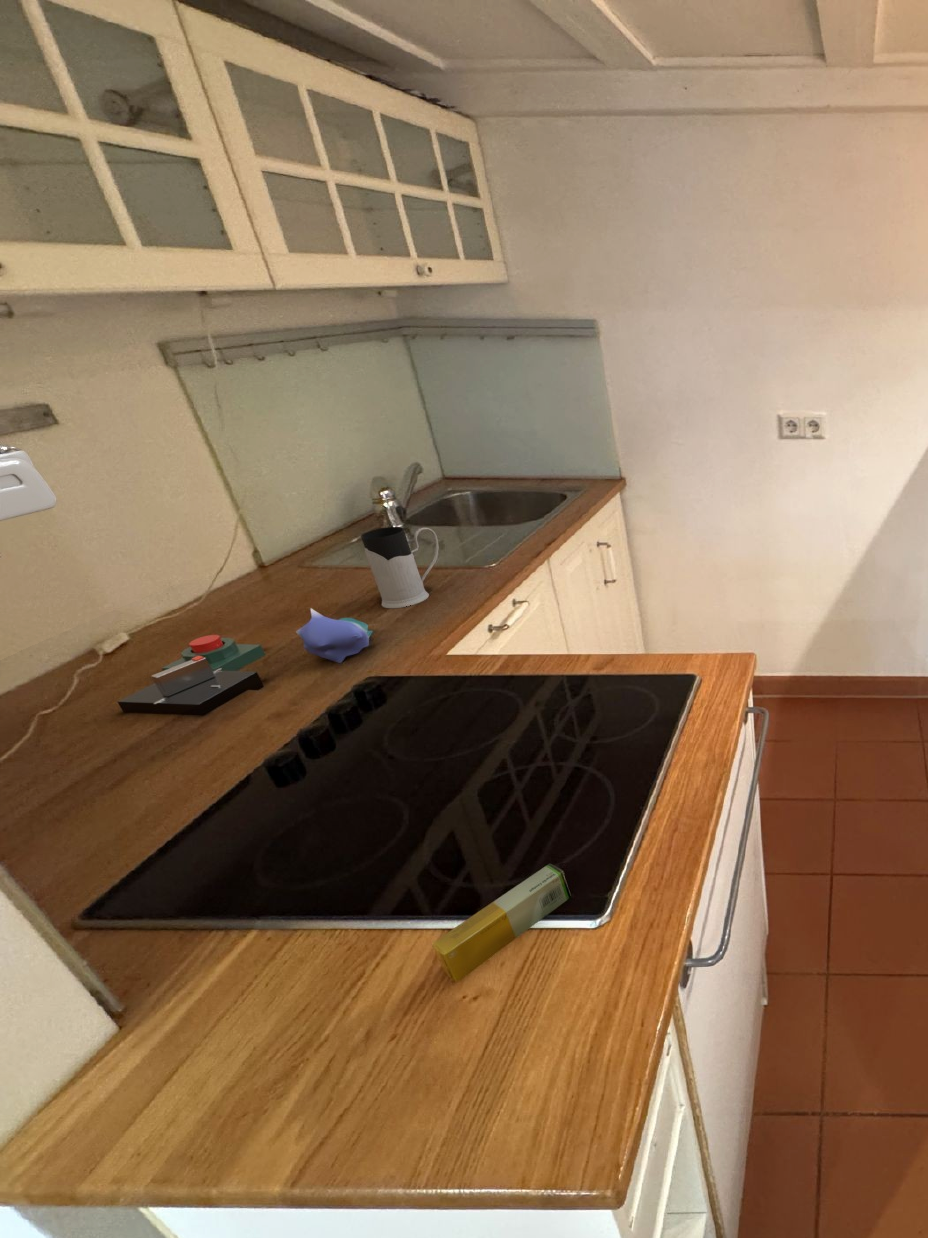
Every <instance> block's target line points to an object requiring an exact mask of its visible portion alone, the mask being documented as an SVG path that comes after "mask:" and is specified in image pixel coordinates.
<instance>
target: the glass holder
mask: <svg viewBox="0 0 928 1238" xmlns="http://www.w3.org/2000/svg"><path fill="white" fill-rule="evenodd" d="M424 530H427V531H430V532H431V533H432V535H433V538H434V542H435V550H434V556H433V559H432V560H431V563H430V564H429V566H428V567H427V569H426V570H425V572H424V573H423V575H422V576H421V574H420V571H419V568H418V565H417V562H416V559H415V556H414V554H413V553H415V552H417V551H418V550H419V543H418V535H419V533H421V531H424ZM360 538H361V541H362V544H363V546H364V547H363V548H364V552H365V555H366V558H367V561H368V564H369V567H370V569H371V572H372V575H373V578H374V581H375V583H376V587H377V589H378V592H379V594H380V597H381V606H382V608H385V609H400V608H401V609H402V608H406V606H407V607H411V606H414V605H417V604H420V603H422V602H424V601H426V600H427V599H428V598H429V596H430V594H429V593H428V591H426V589H425V587H424V580H425V579H426V577H427V575H428V574H429V573H430V572H431V570H432V569H433V567H434V565H435V563H436V562H437V559H438V557H439V549H440V547H439V540H438V539H439V538H438V536H437V534H436V532H435V531H434V530H433V529H431V528H429V527H420V528H418V529H417V530H416V531H415V533H414V535H413V541H414V546H415V548H414V549H412V550H411V548H410V543H409V540H408V538H407V535H406V532H405V529H404V527H402V526H401V527H400V526H388V527H380V528H375V529H372V530H369V531H366V532H364V533H362V534H361V535H360ZM410 605H411V606H410Z"/></svg>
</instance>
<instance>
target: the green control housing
mask: <svg viewBox="0 0 928 1238" xmlns="http://www.w3.org/2000/svg"><path fill="white" fill-rule="evenodd" d="M220 638H221V640H222V642H223V646H221V647H219V648H217V649H214V650H211V651H208V652H203V653H194V652H193V650H192V649H191V647H190V646H189V647H186V648H185V649H184V650H183V651H181V653H180V655H181V658H179V659H177V660H175V661H173V662H171V663H169V664H167V665H165V666H163V667H161V670H162V671H164V670H167V669H170V668H172V667H175V666H177V665H180V664H182V663H185V662H187V661H190V660H192V659H191V658H194V657H196V656H202V657H204V658H206V659H207V661H208V663H209V665H210V667H211V669H212V670H217V669H219V668H222V669H221V670H222V671H240V670H241V669H243V668H244V667H246V666H248V665H250V664H252V663H254V662H256V661H257V660H259V659H262V658H263V657H265V656H266V653H265V651H264V648H263V647H262V645H261V644H251V643H249V644H247V643H246V644H244V643H242V644H241V643H236V641H235V640H234V639H233V638H232V637H220Z"/></svg>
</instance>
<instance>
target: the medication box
mask: <svg viewBox="0 0 928 1238" xmlns="http://www.w3.org/2000/svg"><path fill="white" fill-rule="evenodd" d="M571 897H572V894H571V892H570V889H569V886H568V883H567V880H566V877H565V872H564V870H562V869H561V868H560V867H558V866H556V865H554V864H552V863H548V864H547V865H545V866H544V867H542V868H541V869H539V870H538V871H536V872H535V873H533V874H531V876H529V877H528V878H526V879H525V880H523V881H521V882H519V884H517V885H515V886H514V887H513V888H511V889H510V890H508V891H506V893H504V894H502V895H501V896H500V897H498V898H496V899H495V900H493V901H492V902H490V903H489V904H488V905H486V906H485V907H483V908H482V909H480V910H478V911H477V912H475V913H474V914H472V915H471V916H470V917H468V918H467V919H465V920H464V921H462V922H461V923H460V924H458V925H456V926H455V927H453V928H452V929H451V930H449V931H448V932H446V933H445V934H444V935H442V936H440V937H439V938H437V939H436V940H434V941H433V942H432V944H431V946H432V948H433V949H434V952H435V954H436V957H437V959H438V961H439V964H440V966H441V967H442V969H443V971H444V973H445V975H446V976H447V977H448V978H449V979H450V980H452V981H454V982H455V983H457V982H459V981H461V980H462V979H464V978H465V977H466V976H467V975H469V974H470V973H472V972H473V971H475V970H476V969H477V968H479V967H480V966H481V965H482V964H483V963H485V962H486V961H488V960H489V959H490V958H492V957H493V956H494V955H496V954H497V953H498V952H500V951H501V950H503V949H504V948H505V947H506V946H508V945H509V944H511V943H512V942H514V941H515V940H516V939H517V938H518V937H520V936H522V934H524V933H525V932H526V931H528V930H529V929H531V928H532V927H533V926H534V925H536V924H537V923H539V922H540V921H541V920H543V919H545V917H546V916H549V914H551V913H552V912H553V911H554V910H556V909H557V908H559V907H560V906H561V905H562V904H564V903H565V902H566V901H568V900H569V899H570V898H571Z"/></svg>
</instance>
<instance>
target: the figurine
mask: <svg viewBox="0 0 928 1238" xmlns="http://www.w3.org/2000/svg"><path fill="white" fill-rule="evenodd" d="M310 615H311V618H310V619H309V621H308V622H307V623H306V624H305V625H303V626H302V627H300V628H298V629H297V630H295V633H296V634H297V636H299V637H300V638H301V639H302V642H303V646H302V647H303V648H304V650H306V652H308V653H309V654H311V655H313V656H318V657H320V658H323V659H326V660H329V661H332V662H335V663H338V664H342V662H343V661H344V660H345V659H346V657H349V656H353V655H356V654H359V653H360V652H361V651H362V650H363V649H364V648H366V647H369V646H370V637H371V636H372V634H373V632H374V630H368V627H369V625H368V624H367V623H366V622H363V621H360V620H357V619H355V618H353V617H340V618H339V619H334V618H331V617H327V616H325V615H322V614H321V613H319V612H318V611H316V610H315V609H313V608H310Z"/></svg>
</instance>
